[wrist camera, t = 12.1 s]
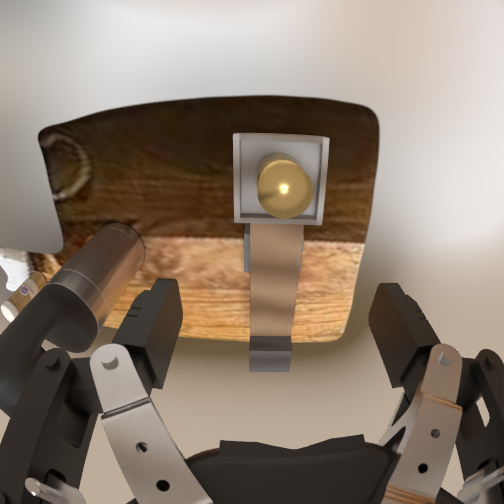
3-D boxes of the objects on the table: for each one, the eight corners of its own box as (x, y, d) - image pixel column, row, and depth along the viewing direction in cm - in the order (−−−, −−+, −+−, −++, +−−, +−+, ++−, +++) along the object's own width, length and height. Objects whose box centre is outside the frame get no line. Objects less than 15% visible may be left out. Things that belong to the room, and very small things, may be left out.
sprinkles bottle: (46, 274, 46) (12, 312, 35) (48, 289, 48) (16, 327, 37) (32, 266, 46) (-2, 302, 34) (34, 281, 48) (2, 317, 36)
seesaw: (296, 350, 42) (299, 371, 39) (240, 349, 43) (238, 371, 39) (322, 135, 27) (332, 139, 23) (236, 132, 27) (231, 135, 23)
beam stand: (297, 260, 42) (302, 284, 37) (245, 259, 43) (243, 283, 37) (300, 224, 39) (307, 245, 34) (245, 223, 40) (242, 243, 34)
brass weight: (298, 194, 28) (310, 219, 22) (256, 192, 28) (256, 217, 22) (301, 153, 26) (315, 166, 20) (257, 151, 26) (258, 163, 20)
